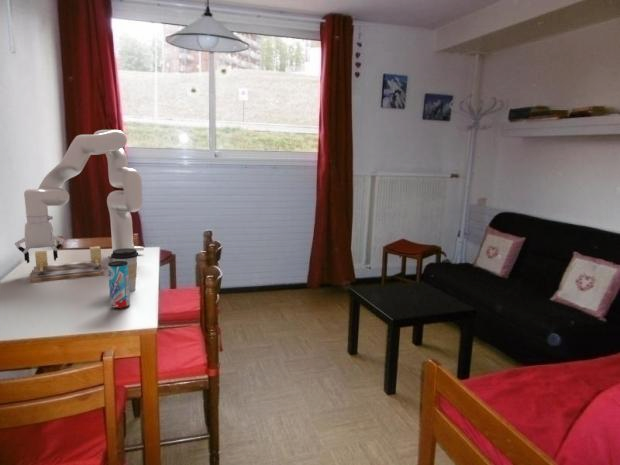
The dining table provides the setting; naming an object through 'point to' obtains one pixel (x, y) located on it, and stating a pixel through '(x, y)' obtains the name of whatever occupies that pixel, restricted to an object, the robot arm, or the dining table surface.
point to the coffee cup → (131, 258)
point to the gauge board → (66, 271)
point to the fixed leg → (95, 255)
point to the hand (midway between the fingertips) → (41, 261)
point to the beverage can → (119, 284)
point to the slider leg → (41, 259)
